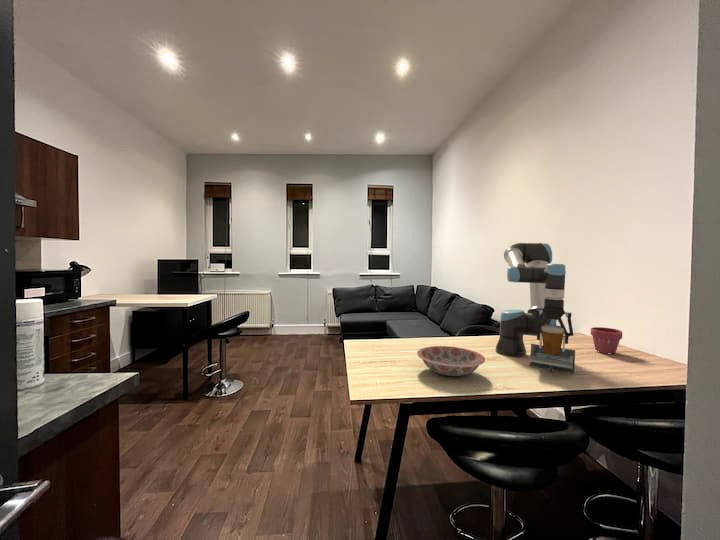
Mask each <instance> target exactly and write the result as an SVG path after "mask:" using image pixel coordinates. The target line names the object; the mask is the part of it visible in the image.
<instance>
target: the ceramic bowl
mask: <svg viewBox="0 0 720 540" xmlns="http://www.w3.org/2000/svg"><path fill="white" fill-rule="evenodd" d="M416 354H417V357H418V358H420V360H422V362H423V363H424V364H425V366H426V367H427V368H428V369H430V370H431V371H432V372H435V373H436V374H440V375H443V376H450V377H461V376H467V375H469V374H471V373H474V372H475V371H476V370H477V369H478V368H479V366H481V365H482V364H484V363H485V362H486V358H485V356H484V355H483V354H481V353H479V352H477V351H475V350H470V349H467V348H462V347H458V346H448V345H435V346H426V347H423V348H420V349H418V350H417V352H416Z"/></svg>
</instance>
